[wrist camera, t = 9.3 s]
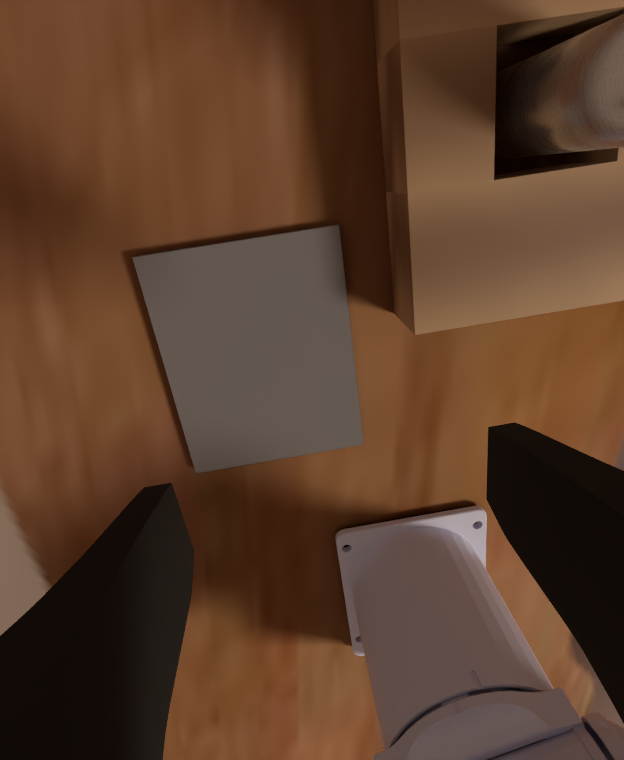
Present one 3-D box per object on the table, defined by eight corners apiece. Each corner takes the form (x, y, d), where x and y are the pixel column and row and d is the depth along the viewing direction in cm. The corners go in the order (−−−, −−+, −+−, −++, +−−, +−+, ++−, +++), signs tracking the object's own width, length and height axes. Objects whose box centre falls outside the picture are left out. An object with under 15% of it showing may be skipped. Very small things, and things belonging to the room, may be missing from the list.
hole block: (618, 276, 20) (674, 291, 17) (394, 313, 20) (415, 334, 17) (677, -168, 14) (773, -250, 12) (363, -125, 14) (387, -199, 11)
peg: (544, 157, 18) (781, 138, 10) (469, 158, 18) (648, 139, 9) (559, 66, 17) (846, -46, 8) (479, 65, 16) (694, -50, 8)
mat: (361, 440, 22) (363, 444, 22) (196, 468, 22) (195, 473, 22) (337, 224, 18) (338, 225, 18) (134, 255, 18) (132, 257, 18)
